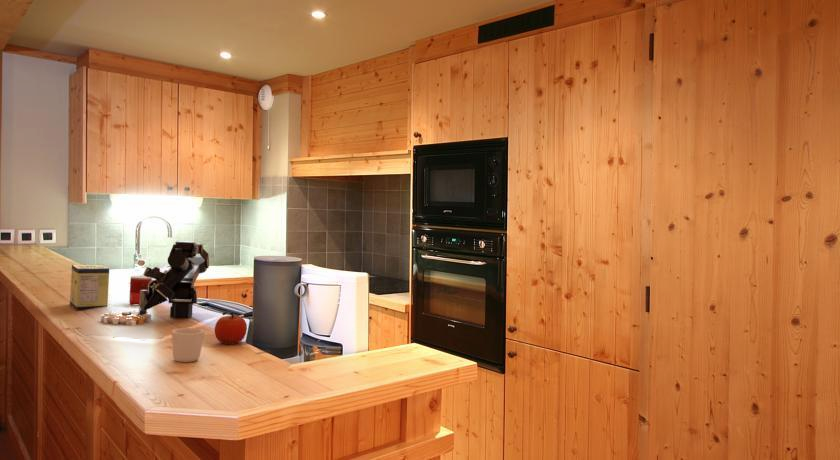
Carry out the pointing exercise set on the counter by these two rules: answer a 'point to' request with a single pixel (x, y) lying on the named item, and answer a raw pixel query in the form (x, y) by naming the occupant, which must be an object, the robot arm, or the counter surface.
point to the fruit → (230, 328)
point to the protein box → (89, 287)
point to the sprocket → (129, 313)
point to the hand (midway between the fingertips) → (142, 308)
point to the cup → (187, 344)
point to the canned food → (138, 287)
